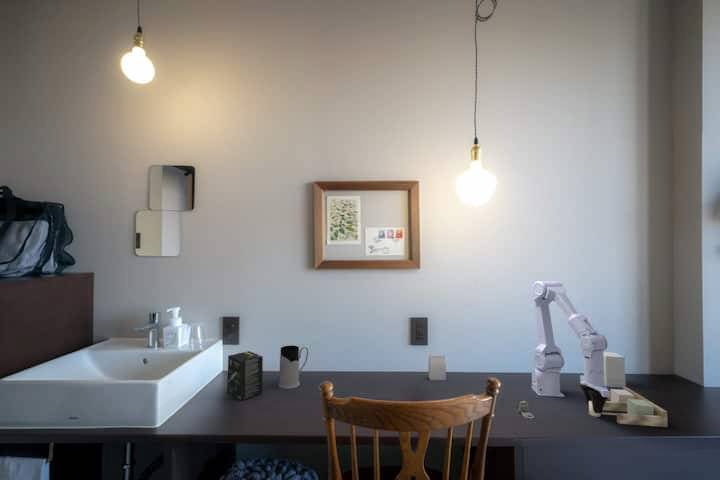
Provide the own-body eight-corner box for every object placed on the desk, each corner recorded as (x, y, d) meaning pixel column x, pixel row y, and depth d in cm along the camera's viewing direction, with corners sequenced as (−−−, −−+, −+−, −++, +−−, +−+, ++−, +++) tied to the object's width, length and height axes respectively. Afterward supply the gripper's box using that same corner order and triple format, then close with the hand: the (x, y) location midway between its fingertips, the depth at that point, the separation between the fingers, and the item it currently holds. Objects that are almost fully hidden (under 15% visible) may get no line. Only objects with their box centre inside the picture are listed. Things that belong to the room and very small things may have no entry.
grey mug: (273, 384, 138) (274, 348, 138) (300, 375, 148) (301, 341, 149) (287, 390, 132) (287, 352, 133) (314, 380, 143) (314, 345, 143)
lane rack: (618, 423, 108) (618, 408, 108) (586, 397, 127) (586, 384, 128) (667, 427, 106) (667, 411, 106) (626, 400, 125) (626, 387, 126)
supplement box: (626, 388, 137) (625, 357, 138) (606, 386, 139) (605, 356, 139) (616, 381, 144) (615, 352, 145) (597, 380, 146) (596, 351, 146)
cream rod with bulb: (593, 417, 111) (593, 402, 111) (585, 410, 116) (585, 396, 116) (654, 422, 109) (653, 406, 109) (643, 414, 113) (643, 400, 114)
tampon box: (263, 394, 128) (263, 355, 129) (240, 401, 121) (241, 361, 122) (248, 386, 136) (249, 350, 136) (226, 393, 129) (227, 354, 130)
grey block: (619, 408, 119) (618, 394, 119) (610, 402, 124) (610, 389, 124) (634, 409, 118) (634, 395, 118) (625, 403, 123) (625, 389, 123)
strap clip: (535, 420, 110) (535, 407, 111) (526, 420, 110) (526, 407, 110) (521, 408, 119) (521, 396, 119) (513, 408, 119) (513, 396, 119)
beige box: (445, 380, 144) (445, 356, 145) (430, 380, 144) (430, 356, 145) (443, 377, 148) (443, 354, 149) (428, 377, 148) (428, 354, 149)
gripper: (570, 362, 122) (571, 400, 121) (592, 376, 108) (593, 419, 107) (591, 363, 121) (592, 401, 120) (616, 377, 107) (617, 421, 106)
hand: (594, 410), depth 113 cm, fingers closed on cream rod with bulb, 3 cm apart
